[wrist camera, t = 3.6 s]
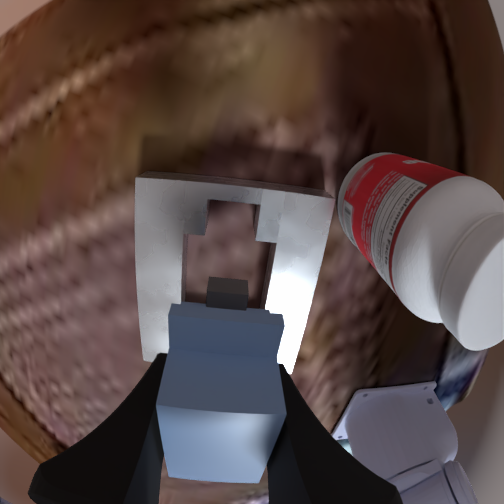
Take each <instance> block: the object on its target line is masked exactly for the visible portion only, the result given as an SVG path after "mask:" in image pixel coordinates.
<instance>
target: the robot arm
mask: <svg viewBox="0 0 504 504" xmlns="http://www.w3.org/2000/svg"><path fill="white" fill-rule="evenodd" d="M167 354H168V353H159V354H157V356H156V357H155V359H154V361H153V362H152V364H151V366H150V367H149V369H148V370H147V372H146V373H145V374H144V376H143V377H142V379H141V380H140V381H139V383H138V384H137V385H136V386H135V388H134V389H133V390H132V392H131V393H130V394H129V395H128V396H127V397H126V399H125V400H124V401H123V402H122V403H121V404H120V406H119V407H118V408H117V409H116V410H115V411H114V412H113V413H112V414H111V415H110V416H109V417H108V418H107V419H106V420H105V421H104V422H102V423H101V424H100V425H99V426H98V427H97V428H95V429H94V430H93V431H92V432H91V433H89V434H88V435H87V436H86V437H84V438H83V439H82V440H80V441H79V442H77V443H76V444H74V445H73V446H71V447H70V448H68V449H67V450H65V451H64V452H62V453H60V454H58V455H57V456H55V457H53V458H51V459H49V460H47V461H45V462H43V463H41V464H40V465H39V467H38V469H37V471H36V472H35V474H34V477H33V479H32V482H31V485H30V488H29V491H28V495H29V497H30V498H31V499H32V500H33V501H34V502H35V503H36V504H158V503H159V490H160V479H161V469H162V462H163V457H164V450H163V445H162V439H161V434H160V428H159V422H158V415H157V409H156V402H157V397H158V393H159V388H160V384H161V379H162V375H163V371H164V367H165V363H166V358H167ZM278 364H279V370H280V376H281V382H282V389H283V395H284V401H285V407H286V413H287V415H286V417H285V420H284V423H283V425H282V428H281V430H280V433H279V435H278V438H277V440H276V443H275V445H274V448H273V450H272V453H271V455H270V457H269V460H268V462H267V470H268V489H269V504H478V501H477V498H476V496H475V493H474V491H473V488H472V486H471V484H470V482H469V480H468V478H467V476H466V474H465V472H464V470H463V469H462V467H461V465H460V464H459V462H456V461H453V460H454V458H455V456H456V453H457V449H458V439H457V434H456V431H455V428H454V426H453V425H452V423H451V421H450V419H449V417H448V415H447V414H446V412H445V410H444V408H443V407H442V405H441V403H440V401H439V400H438V398H437V396H436V394H435V393H434V391H433V390H434V388H435V387H436V382H435V381H432V382H425V383H418V384H410V385H402V386H393V387H383V388H372V389H360V390H357V391H356V392H355V393H354V395H353V397H352V399H351V401H350V403H349V404H348V406H347V408H346V410H345V412H344V414H343V415H342V417H341V419H340V421H339V422H338V424H337V426H336V428H335V429H334V431H333V433H332V434H330V433H329V432H328V431H327V430H326V429H325V428H324V426H323V425H322V424H321V423H320V421H319V420H318V419H317V417H316V416H315V415H314V413H313V412H312V411H311V409H310V408H309V406H308V405H307V403H306V402H305V400H304V399H303V397H302V396H301V394H300V392H299V391H298V389H297V387H296V386H295V384H294V382H293V380H292V379H291V377H290V375H289V373H288V371H287V369H286V367H285V365H284V364H283V363H278ZM347 438H348V440H349V443H350V447H351V450H352V454H353V456H352V455H351V454H350V453H349V452H347V451H346V450H345V449H344V448H343V447H342V446H341V445H340V444H339V443H338V442H337V441H336V440H338V439H347ZM0 504H12V503H10V502H8V501H6V500H4V499H3V498H1V497H0Z"/></svg>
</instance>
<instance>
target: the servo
mask: <svg viewBox="0 0 504 504" xmlns="http://www.w3.org/2000/svg"><path fill="white" fill-rule="evenodd" d="M248 296H249V293H248V280H238V279H228V278H218V277H209V281H208V287H207V297H206V304H201V303H192V302H183V301H181V304H174V303H172V304H171V307H170V310H169V313H168V331H169V350H168V354H167V358H166V363H165V367H164V371H163V375H162V379H161V384H160V388H159V393H158V397H157V402H156V409H157V415H158V422H159V428H160V434H161V439H162V445H163V450H164V455H165V460H166V465H167V470H168V475H169V477H175V478H183V479H191V480H202V481H214V482H233V483H259V481H260V478H261V476H262V474H263V471H264V469H265V467H266V465H267V462H268V460H269V457H270V455H271V453H272V450H273V448H274V445H275V443H276V440H277V438H278V435H279V433H280V430H281V428H282V425H283V423H284V420H285V417H286V415H287V413H286V407H285V401H284V395H283V389H282V382H281V376H280V370H279V364H278V358H277V357H278V353H279V349H280V345H281V341H282V337H283V333H284V329H285V322H284V317H283V314H281V313H270V310H267V309H254V308H247V303H248Z"/></svg>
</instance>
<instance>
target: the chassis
mask: <svg viewBox="0 0 504 504" xmlns="http://www.w3.org/2000/svg"><path fill="white" fill-rule="evenodd" d="M210 199H212V200H222V201H232V202H241V203H250V204H257V207H256V214H255V222H254V233H255V240H256V241H264V242H271V244H270V250H269V256H268V262H267V268H266V274H265V280H264V286H263V292H262V297H261V303H260V309H267V310H270V313H281V314H283V317H284V322H285V329H284V333H283V337H282V341H281V345H280V349H279V353H278V357H277V358H278V363H283V364H284V365H285V367H286V369H287V371H288V373H291V372H292V369H293V366H294V362H295V359H296V356H297V352H298V349H299V345H300V342H301V338H302V335H303V331H304V328H305V324H306V321H307V317H308V313H309V310H310V306H311V302H312V298H313V294H314V290H315V287H316V283H317V279H318V275H319V271H320V266H321V262H322V258H323V254H324V250H325V245H326V241H327V236H328V232H329V227H330V223H331V218H332V214H333V209H334V204H335V198H334V197H332V196H331V195H330V194H329V193H328V192H326V191H325V190H320V189H313V188H307V187H300V186H293V185H286V184H278V183H271V182H263V181H254V180H246V179H237V178H227V177H217V176H207V175H196V174H183V173H170V172H155V171H146V172H144V173H142V174H141V175H139V176H137V177H136V181H135V260H136V282H137V298H138V311H139V323H140V333H141V343H142V352H143V360H144V361H149V362H153V361H154V359H155V357H156V356H157V354H159V353H168V350H169V331H168V313H169V310H170V307H171V304H172V303H174V304H181V301H183V302H185V298H186V266H187V244H188V234H195V235H205V232H206V228H207V225H208V217H209V206H210Z"/></svg>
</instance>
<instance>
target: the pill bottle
mask: <svg viewBox="0 0 504 504" xmlns="http://www.w3.org/2000/svg"><path fill="white" fill-rule="evenodd" d="M337 208H338V216H339V220H340V223H341V226H342V228H343V230H344V232H345V233H346V235H347V236H348V238H349V239H350V240H351V242H352V243H353V244H354V245H355V246H356V247H357V248H358V250H359V251H360V252H361V253H362V254H363V255H364V256H365V258H366V259H367V260H368V261H369V262H370V263H371V265H372V266H373V267H374V268H375V269H376V270H377V272H378V273H379V274H380V275H381V277H382V278H383V279H384V280H385V281H386V283H387V284H388V285H389V286H390V288H391V289H392V290H393V291H394V293H395V294H396V295H397V296H398V298H399V299H400V301H401V302H402V303H403V304H404V305H405V306H406V307H407V308H408V309H409V310H410V311H411V312H412V313H413V314H415V315H416V316H418V317H419V318H421V319H423V320H426V321H429V322H434V323H444V325H445V327H446V328H447V329H448V330H449V331H450V332H451V333H452V334H453V335H454V336H455V337H456V338H457V340H458V341H459V342H460V343H461V344H462V345H463V346H464V347H465V348H467V349H470V350H476V351H477V350H483V349H487V348H489V347H492V346H494V345H496V344H497V343H499V342H501V341H502V340H503V339H504V201H503V199H502V198H501V196H500V195H499V194H498V193H497V192H496V191H495V190H494V189H493V188H492V187H491V186H489V185H488V184H486V183H485V182H483V181H480V180H478V179H476V178H473V177H470V176H468V175H465V174H462V173H459V172H456V171H453V170H450V169H447V168H444V167H441V166H438V165H434V164H431V163H428V162H424V161H421V160H417V159H414V158H411V157H407V156H404V155H400V154H395V153H387V152H385V153H376V154H373V155H370V156H368V157H366V158H364V159H362V160H361V161H359V162H358V163H357V164H356V165H355V166H354V167H352V169H351V170H350V171H349V172H348V174H347V175H346V177H345V179H344V180H343V183H342V185H341V187H340V191H339V195H338V206H337Z"/></svg>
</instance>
